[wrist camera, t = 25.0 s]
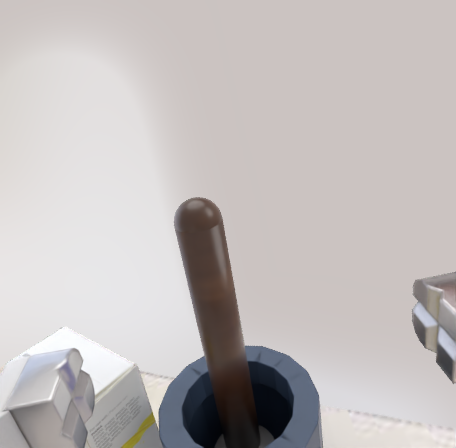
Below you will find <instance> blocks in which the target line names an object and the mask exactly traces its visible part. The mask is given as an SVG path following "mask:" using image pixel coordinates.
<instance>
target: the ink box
mask: <svg viewBox="0 0 456 448" xmlns="http://www.w3.org/2000/svg"><path fill="white" fill-rule="evenodd" d="M70 348H76V349H78V350H79V352H80V354H81V356H82V358H83V360H84V361H83V364H82V367H81V370H83V371H85V372H86V373H88V374H90V377H91V379H92V382H93V386H94V391H95V406H94V410H93V415H92V417H91V418H90V419H89V420H88V421H87V422H86V423H85V424H84V425H85V427H86V429H87V431H88V435H87V439H86V443H85V447H84V448H163V446H162V443H161V440H160V437H159V430H158V427H157V424H156V421H155V418H154V415H153V412H152V409H151V406H150V403H149V400H148V397H147V393H146V390H145V387H144V384H143V380H142V378H141V374H140V371H139V368H138V366H137V364H136V363H132V362H131V361H129V360H127V359H125V358H123V357H121V356H119V355H117V354H116V353H114V352H112V351H110V350H108V349H106V348H105V347H103V346H101V345H99V344H97V343H95V342H94V341H92V340H90V339H88V338H86V337H84V336H82V335H80V334H79V333H76V332H75V331H73V330H71V329H69V328H67V327H62V328H60V329H59V330H57V331H56V332H54V333H53V334H51V335H50V336H48V337H47V338H45V339H44V340H42V341H41V342H39V343H38V344H36V345H35V346H33V347H32V348H30V349H29V350H27V351H25V352H24V353H22V354H21V355H19V356H17V357H16V358H21V357H26V356H33V355H36V354H42V353H48V352H53V351H59V350H65V349H70ZM16 358H14V359H16Z"/></svg>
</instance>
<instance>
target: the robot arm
mask: <svg viewBox="0 0 456 448" xmlns="http://www.w3.org/2000/svg"><path fill="white" fill-rule="evenodd" d="M413 295H414V296H415V298H416V299H417V300H418V303H417V304H416V305H415V307H414V308H413V310H412V322H413V325H414V329H415V332H416V334H417V336H418V338H419V340H420V342H421V343H422V344H423V346H424V347H425V348H426V349H428V350H431V351H433V352H435V353H437V356H436V362H437V364H438V365H439V366H440V367H441V369H442V370H443V371H444V373H445V374H446V375H447V376H448V377H449V379H450V380H451V381H452V383H453V384H454V383H456V272H453V273H448V274H443V275H438V276H433V277H428V278H423V279H418V280H416V281H415V283H414V285H413ZM83 361H84V360H83V358H82V356H81V354H80V352H79V350H78V349H76V348H70V349H65V350H59V351H53V352H48V353H42V354H36V355H33V356H26V357H21V358H16V359H12V360H10V361H9V362H7V363H6V365H5V366H4V368H3V370H2V372H1V374H0V448H84V447H85V443H86V439H87V435H88V431H87V429H86V427H85V425H84V424H85V423H86V422H87V421H88V420H89V419H90V418H91V417H92V415H93V410H94V406H95V391H94V386H93V382H92V379H91V377H90V374H88V373H86V372H85V371H83V370H81V367H82V364H83Z"/></svg>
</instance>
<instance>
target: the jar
mask: <svg viewBox="0 0 456 448" xmlns="http://www.w3.org/2000/svg"><path fill="white" fill-rule="evenodd" d="M245 351H246V356H247V362H248V368H249V374H250V379H251V385H252V391H253V396H254V402H255V408H256V414H257V419H258V425H260V426H262V427H264V428H265V429H267V430H268V431H269V432H270V433H271V434H272V436H273V437H274V439H275V440H274V441H273V442H271V443H270V444H269V445H267V446H266V447H265V448H323V441H322V428H321V415H320V403H319V395H318V392H317V390H316V388H315V386H314V384H313V382H312V380H311V378H310V376H309V374H308V372H307V371H306V370H305V369H304V368H303V367H302V366H300V365H299V364H298V363H297V362H296V361H294V360H293V359H292V358H291V357H290V356H287V355H286V354H283V353H280V352H277V351H275V350H272V349H268V348H266V347H263V346H245ZM222 434H223V433H222V428H221V424H220V420H219V415H218V411H217V407H216V403H215V398H214V394H213V390H212V385H211V381H210V377H209V372H208V368H207V364H206V360H205V356H204V357H202V358H200V359H198V360H196V361H195V362H193V363H191V364H189V365H188V366H187V367H186V368H185V369H184V370H183V371H182V372H181V373H180V374H179V375H178V376H177V377H176V378H175V379H174V380H173V381H172V382H171V384H170V385H169V386H168V389H167V391H166V393H165V396H164V398H163V401H162V403H161V405H160V408H159V437H160V440H161V443H162V446H163V448H215V445H216V442H217V440H218V439H219V437H220V436H221V435H222Z"/></svg>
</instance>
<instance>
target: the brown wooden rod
mask: <svg viewBox="0 0 456 448" xmlns="http://www.w3.org/2000/svg"><path fill="white" fill-rule="evenodd" d="M174 226H175V231H176V235H177V239H178V244H179V248H180V252H181V256H182V261H183V265H184V269H185V274H186V278H187V282H188V287H189V290H190V295H191V299H192V304H193V308H194V312H195V316H196V321H197V325H198V329H199V333H200V338H201V342H202V346H203V351H204V355H205V360H206V364H207V368H208V372H209V377H210V381H211V385H212V390H213V394H214V398H215V403H216V407H217V411H218V415H219V420H220V424H221V428H222V433H223V434H222V435H221V436H220V437H219V439H218V440H217V442H216V445H215V448H265V447H266V446H267V445H269V444H270V443H271V442H273V441H274V440H275V439H274V437H273V436H272V434H271V433H270V432H269V431H268V430H267V429H265V428H264V427H262V426H260V425H258V419H257V414H256V408H255V402H254V396H253V391H252V385H251V379H250V374H249V368H248V362H247V356H246V351H245V345H244V340H243V334H242V328H241V323H240V316H239V311H238V305H237V299H236V294H235V288H234V282H233V277H232V271H231V265H230V260H229V254H228V248H227V243H226V237H225V231H224V225H223V219H222V215H221V212H220V210H219V208H218V207H217V206H216V205H215V204H214V203H213V202H212V201H210V200H208V199H206V198H200V197H196V198H191V199H188V200H186V201H185V202H183V203H182V204H181V205H180V206H179V208H178V209H177V211H176V213H175V217H174Z"/></svg>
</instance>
